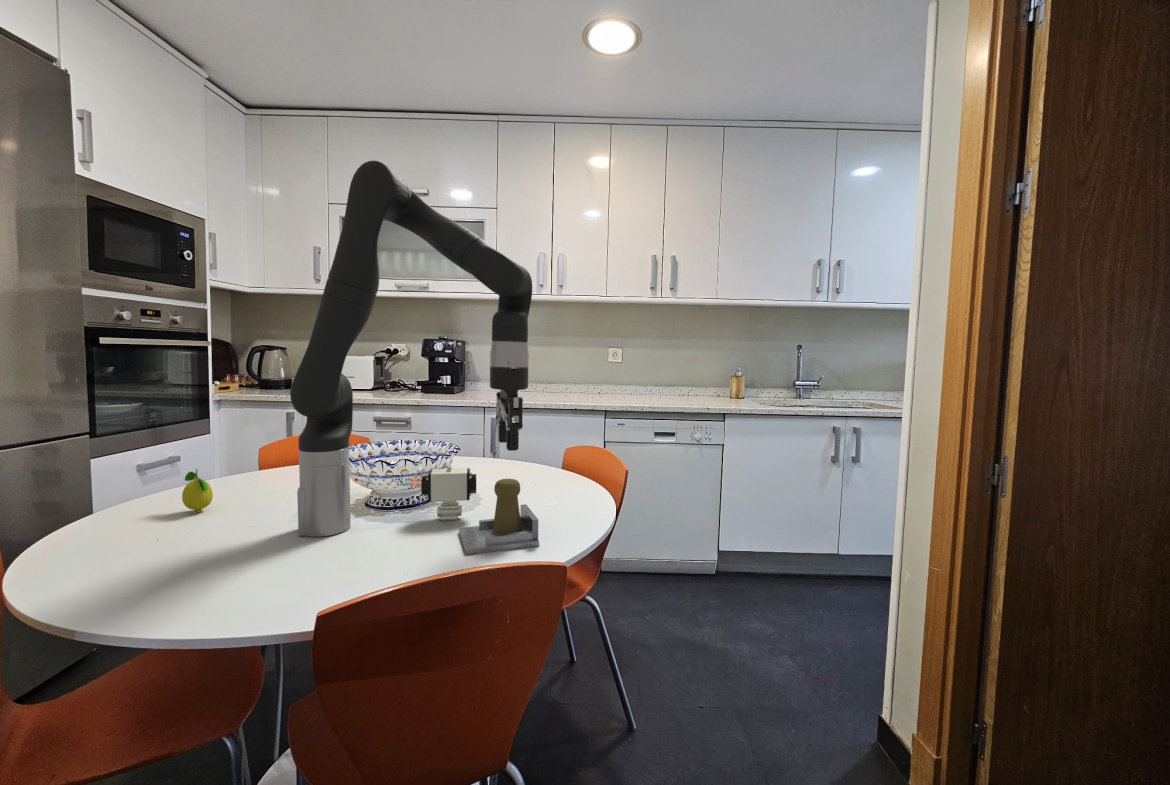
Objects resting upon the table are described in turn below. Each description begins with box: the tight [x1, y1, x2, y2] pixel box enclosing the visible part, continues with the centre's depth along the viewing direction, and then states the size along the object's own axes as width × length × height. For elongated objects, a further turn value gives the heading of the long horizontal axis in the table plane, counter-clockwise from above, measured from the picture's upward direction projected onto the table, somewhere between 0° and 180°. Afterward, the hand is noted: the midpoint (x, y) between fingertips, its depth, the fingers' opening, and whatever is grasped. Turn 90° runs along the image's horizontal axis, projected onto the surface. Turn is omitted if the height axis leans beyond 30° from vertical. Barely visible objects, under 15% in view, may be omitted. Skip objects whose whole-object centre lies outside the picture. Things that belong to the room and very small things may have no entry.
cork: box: [492, 478, 522, 535], centre depth 100 cm, size 6×6×11 cm
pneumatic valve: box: [420, 465, 477, 522], centre depth 112 cm, size 6×12×12 cm, turn 102°
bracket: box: [458, 503, 540, 555], centre depth 100 cm, size 14×12×5 cm
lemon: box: [181, 468, 214, 512], centre depth 113 cm, size 7×6×10 cm
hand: (508, 446), depth 99 cm, fingers open, 8 cm apart
